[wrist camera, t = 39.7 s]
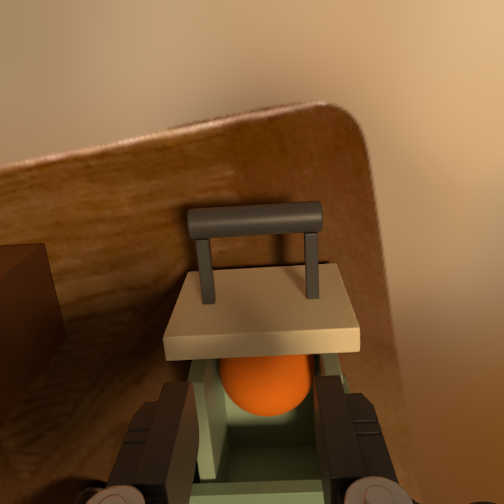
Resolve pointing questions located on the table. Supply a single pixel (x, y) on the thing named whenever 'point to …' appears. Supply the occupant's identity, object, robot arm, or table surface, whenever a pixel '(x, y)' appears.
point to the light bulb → (87, 494)
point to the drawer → (258, 340)
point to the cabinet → (259, 489)
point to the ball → (267, 382)
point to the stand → (25, 321)
